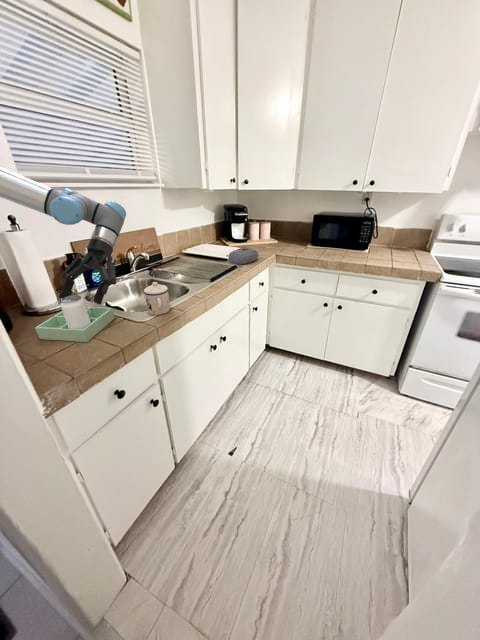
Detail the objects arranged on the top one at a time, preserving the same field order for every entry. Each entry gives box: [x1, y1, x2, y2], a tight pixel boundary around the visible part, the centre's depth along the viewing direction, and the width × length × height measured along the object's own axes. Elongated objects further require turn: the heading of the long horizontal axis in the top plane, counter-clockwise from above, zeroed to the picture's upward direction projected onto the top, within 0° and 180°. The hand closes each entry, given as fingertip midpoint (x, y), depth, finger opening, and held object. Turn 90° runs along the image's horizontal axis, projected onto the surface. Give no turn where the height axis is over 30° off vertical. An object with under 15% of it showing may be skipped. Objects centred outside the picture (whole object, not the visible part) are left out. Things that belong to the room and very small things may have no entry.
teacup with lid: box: [143, 281, 171, 316], centre depth 100 cm, size 12×9×12 cm
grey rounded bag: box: [228, 247, 259, 266], centre depth 166 cm, size 15×8×20 cm
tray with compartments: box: [34, 306, 116, 343], centre depth 90 cm, size 17×17×4 cm
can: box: [60, 294, 91, 330], centre depth 84 cm, size 6×6×12 cm
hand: (79, 300), depth 84 cm, fingers open, 13 cm apart
